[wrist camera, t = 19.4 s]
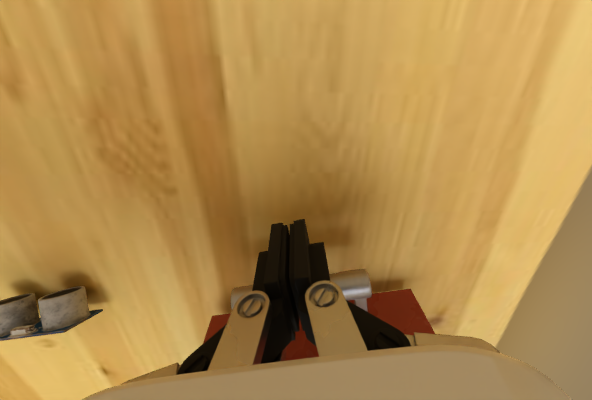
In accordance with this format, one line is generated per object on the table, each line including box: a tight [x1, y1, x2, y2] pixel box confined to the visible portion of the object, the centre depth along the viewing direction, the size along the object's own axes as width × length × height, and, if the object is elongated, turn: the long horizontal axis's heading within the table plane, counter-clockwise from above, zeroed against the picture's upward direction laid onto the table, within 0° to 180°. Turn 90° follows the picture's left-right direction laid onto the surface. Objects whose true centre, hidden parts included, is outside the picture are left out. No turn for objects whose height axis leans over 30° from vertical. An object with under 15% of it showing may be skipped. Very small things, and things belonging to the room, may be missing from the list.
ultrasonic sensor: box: [0, 286, 103, 341], centre depth 16 cm, size 6×2×3 cm, turn 100°
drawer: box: [203, 269, 435, 361], centre depth 17 cm, size 21×13×5 cm, turn 10°
